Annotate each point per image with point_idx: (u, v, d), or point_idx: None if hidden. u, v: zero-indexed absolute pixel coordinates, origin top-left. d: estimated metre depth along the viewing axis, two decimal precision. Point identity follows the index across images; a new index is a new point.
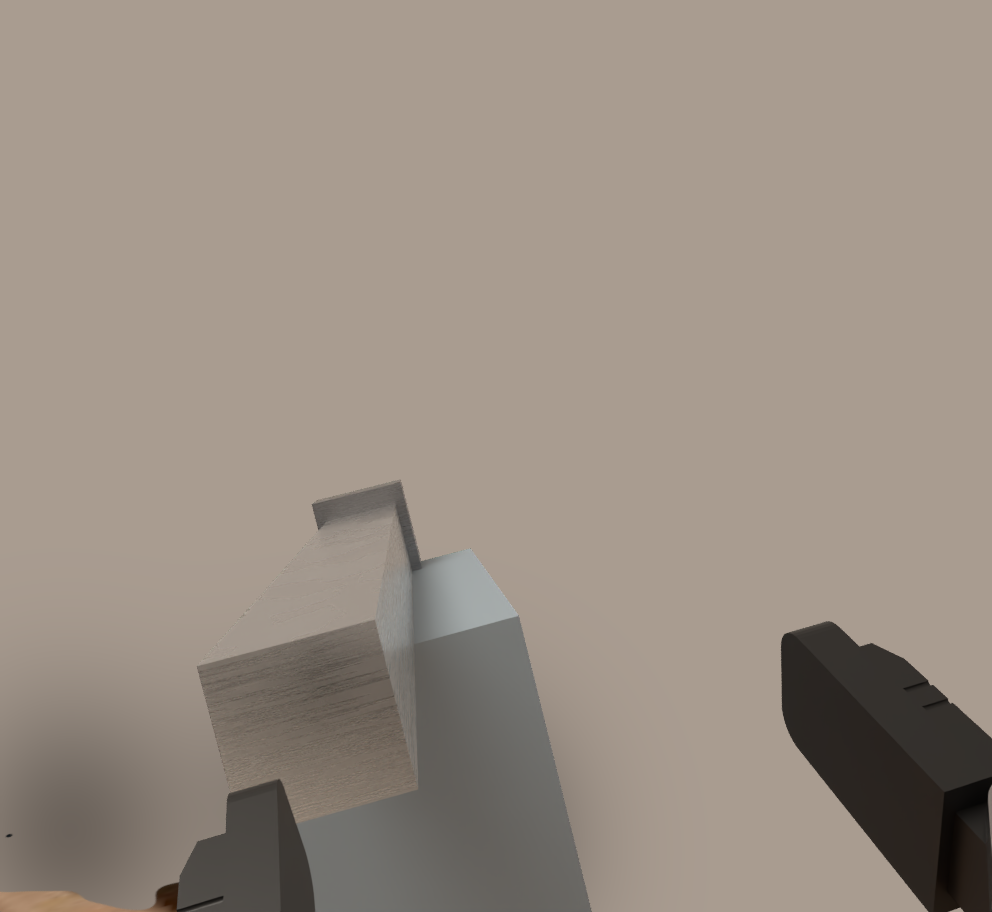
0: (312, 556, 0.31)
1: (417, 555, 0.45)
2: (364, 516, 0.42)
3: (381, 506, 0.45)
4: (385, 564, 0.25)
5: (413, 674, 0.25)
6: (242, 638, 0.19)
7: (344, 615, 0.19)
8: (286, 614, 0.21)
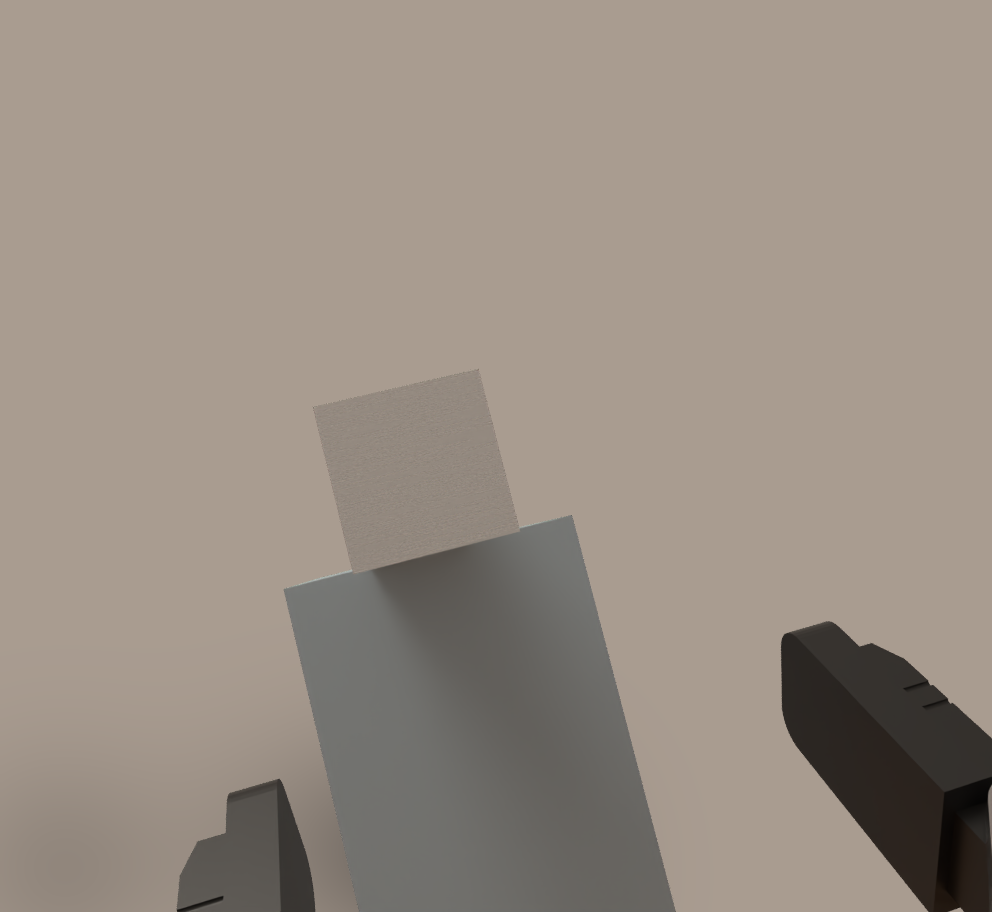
0: None
1: None
2: None
3: None
4: None
5: None
6: None
7: None
8: None
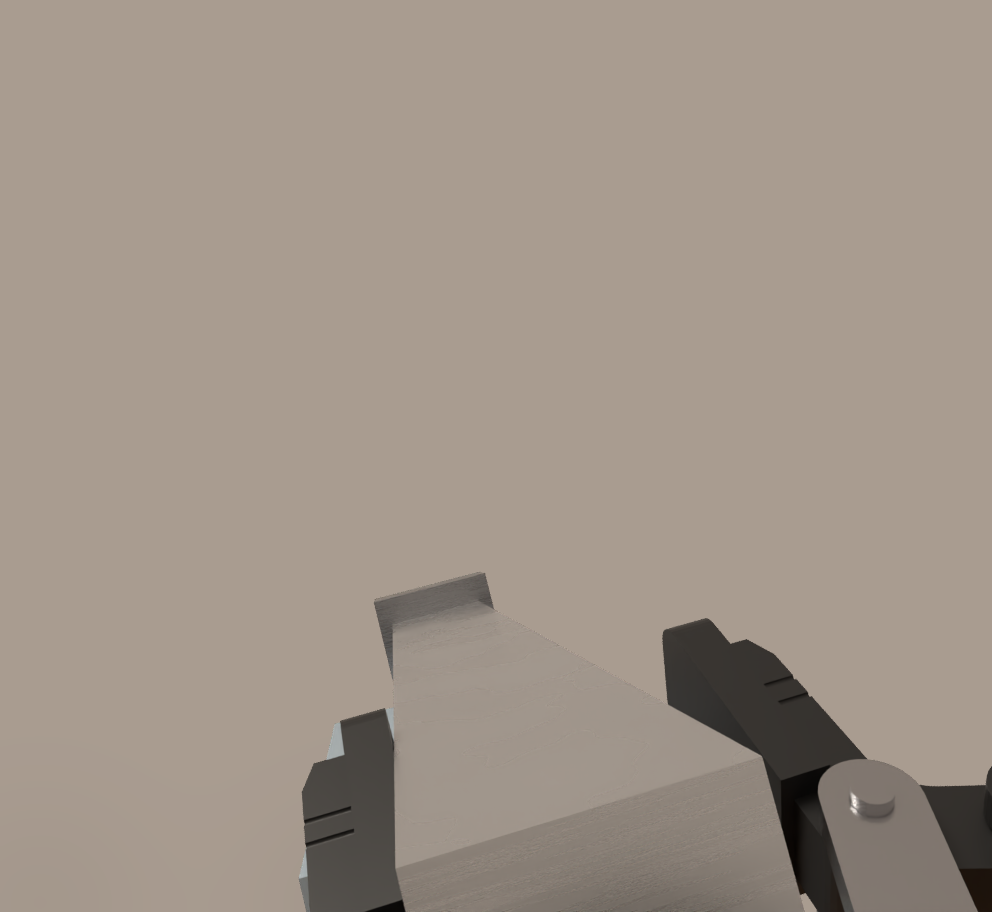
0: (424, 660, 0.21)
1: None
2: (448, 615, 0.33)
3: (461, 604, 0.35)
4: None
5: None
6: (448, 798, 0.10)
7: (654, 748, 0.09)
8: (495, 747, 0.11)
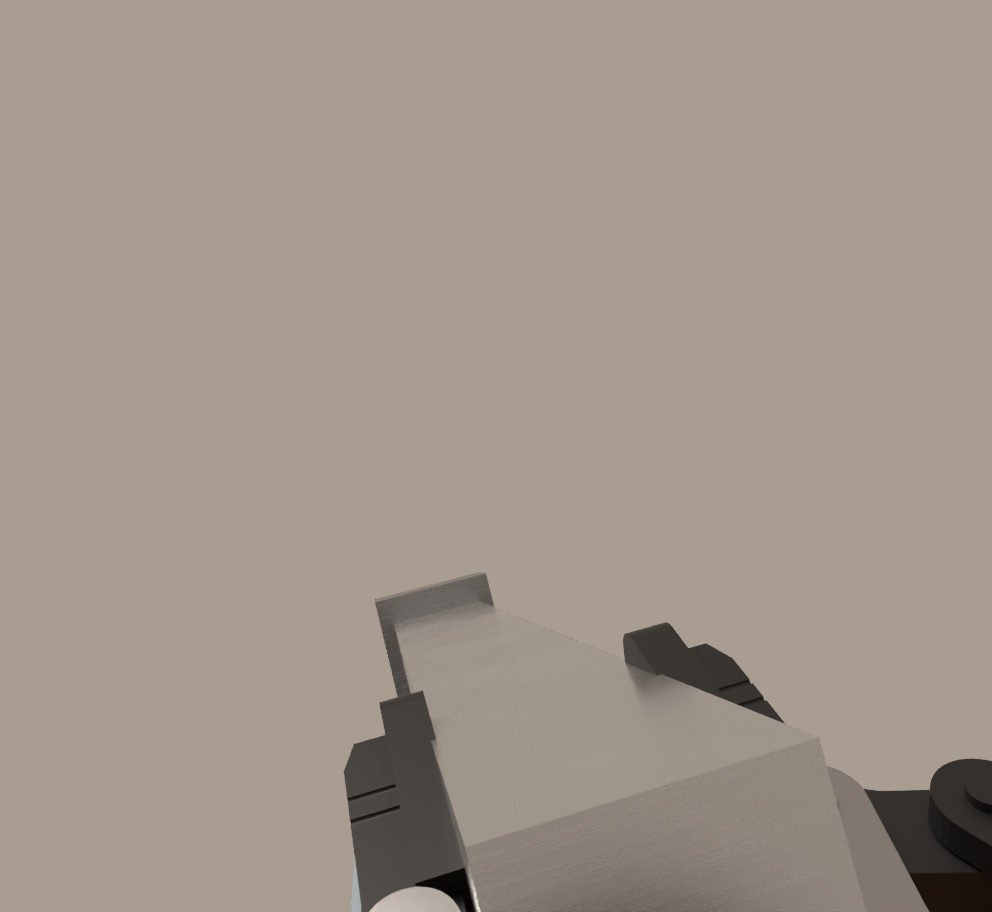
0: (438, 657, 0.22)
1: None
2: (450, 615, 0.33)
3: (462, 604, 0.35)
4: (611, 657, 0.16)
5: None
6: (502, 782, 0.10)
7: (704, 732, 0.10)
8: (537, 735, 0.11)
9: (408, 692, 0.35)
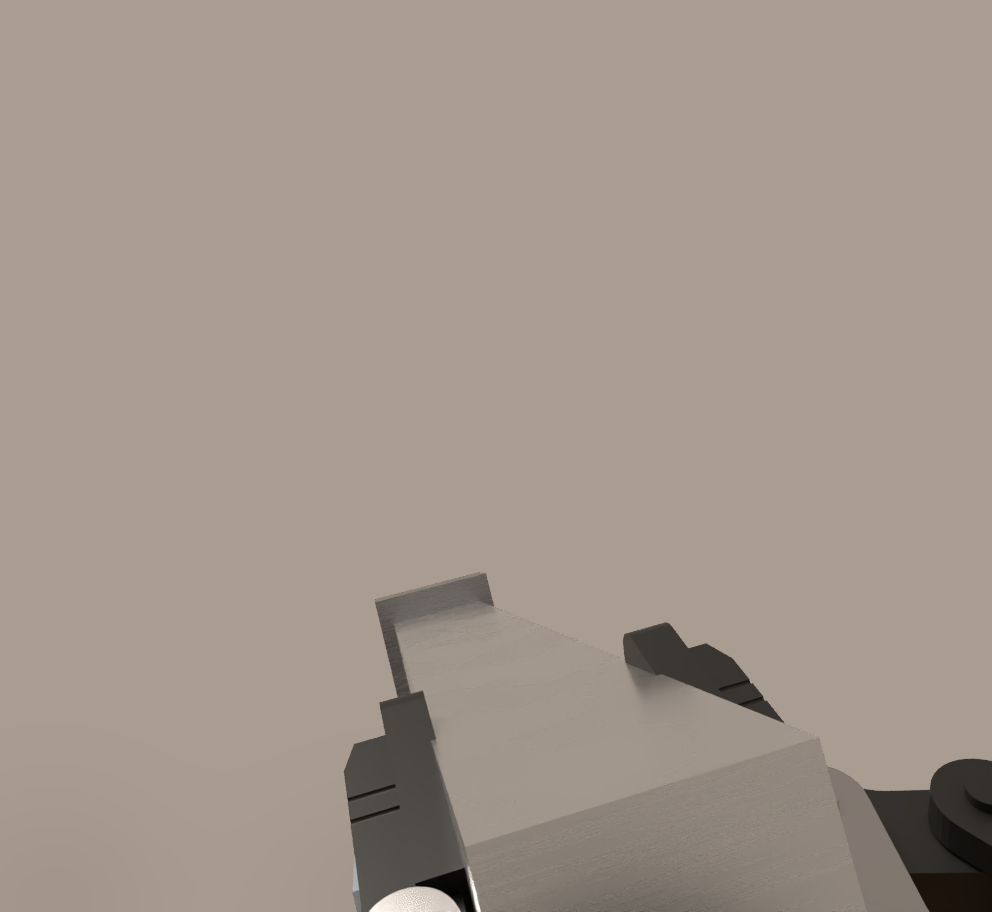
0: (438, 657, 0.22)
1: None
2: (450, 614, 0.33)
3: (462, 604, 0.35)
4: None
5: None
6: (501, 782, 0.10)
7: (704, 732, 0.10)
8: (537, 735, 0.11)
9: (408, 692, 0.35)
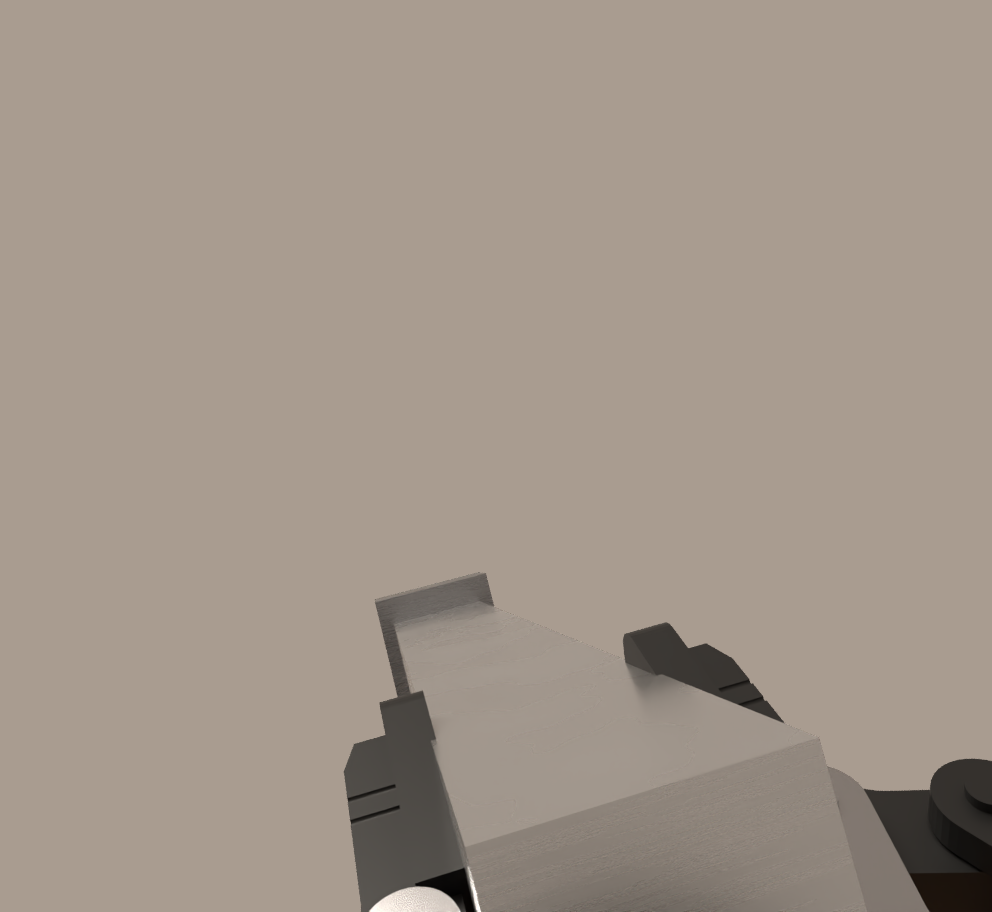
0: (438, 657, 0.22)
1: None
2: (450, 614, 0.33)
3: (462, 604, 0.35)
4: None
5: None
6: (502, 782, 0.10)
7: (705, 732, 0.10)
8: (537, 735, 0.11)
9: (408, 692, 0.35)
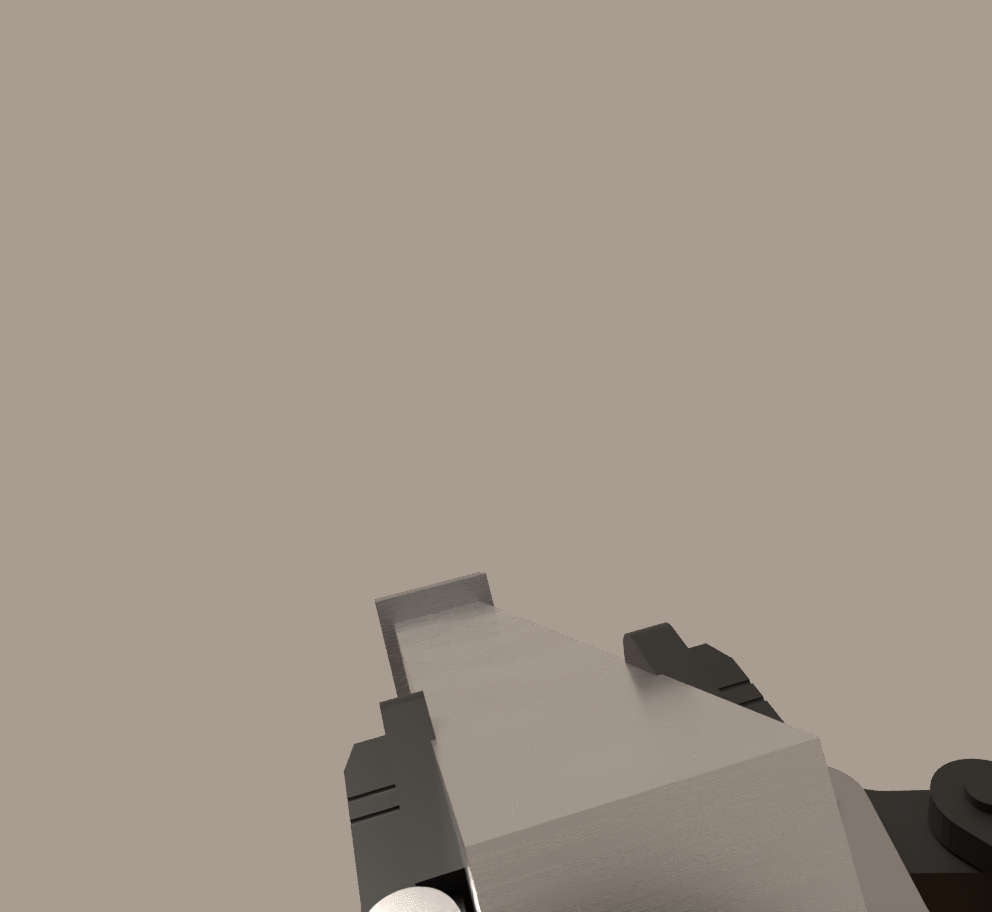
0: (438, 657, 0.22)
1: None
2: (450, 614, 0.33)
3: (462, 604, 0.35)
4: None
5: None
6: (502, 782, 0.10)
7: (704, 732, 0.10)
8: (537, 735, 0.11)
9: (408, 692, 0.35)
